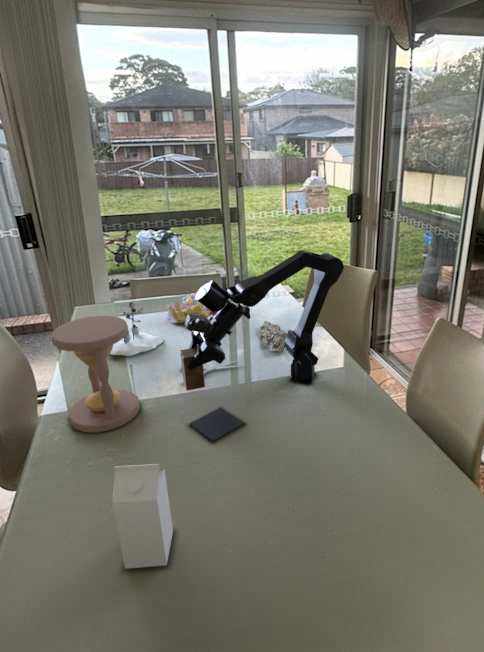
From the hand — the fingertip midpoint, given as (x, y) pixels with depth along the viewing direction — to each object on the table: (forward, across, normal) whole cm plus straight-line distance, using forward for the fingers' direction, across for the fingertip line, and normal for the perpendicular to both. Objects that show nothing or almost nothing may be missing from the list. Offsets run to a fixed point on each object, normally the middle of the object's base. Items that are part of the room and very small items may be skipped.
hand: (186, 364), depth 119 cm
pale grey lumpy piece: (-16, -30, +34) cm, 48 cm away
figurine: (+17, -42, 0) cm, 46 cm away
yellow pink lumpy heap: (-2, -64, +19) cm, 67 cm away
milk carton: (+19, +45, -2) cm, 49 cm away
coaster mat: (+5, +13, +12) cm, 18 cm away
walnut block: (+4, 0, +6) cm, 7 cm away
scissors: (+2, -15, +15) cm, 22 cm away
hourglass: (+24, -3, -7) cm, 26 cm away
